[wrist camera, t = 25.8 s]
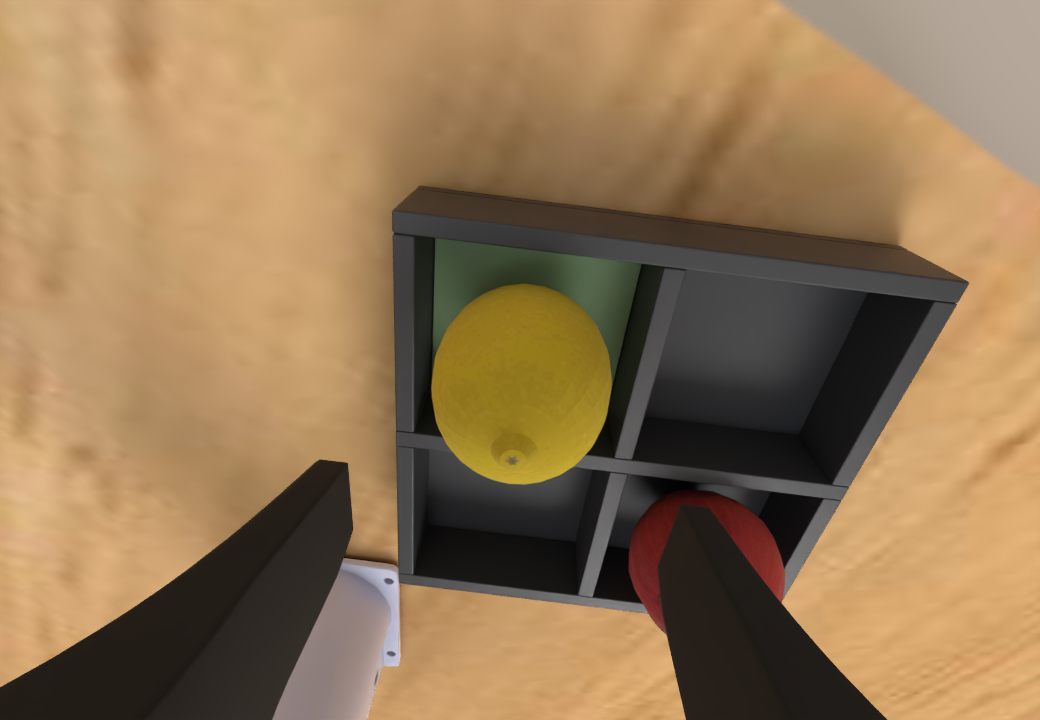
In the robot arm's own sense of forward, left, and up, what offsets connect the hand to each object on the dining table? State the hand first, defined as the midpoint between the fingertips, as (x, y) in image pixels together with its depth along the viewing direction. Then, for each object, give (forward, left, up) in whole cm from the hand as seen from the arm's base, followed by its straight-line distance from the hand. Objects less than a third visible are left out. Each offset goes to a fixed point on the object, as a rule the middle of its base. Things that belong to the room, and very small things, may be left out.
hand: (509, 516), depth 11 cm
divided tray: (-4, -4, -10) cm, 12 cm away
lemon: (0, 0, -10) cm, 10 cm away
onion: (-8, -8, -10) cm, 15 cm away
